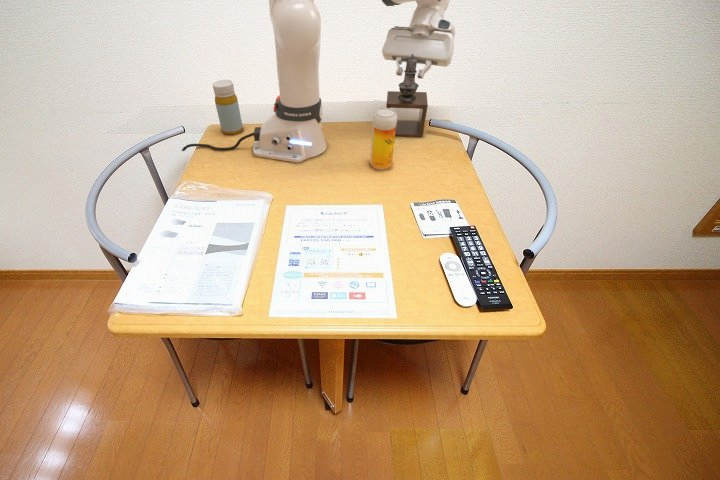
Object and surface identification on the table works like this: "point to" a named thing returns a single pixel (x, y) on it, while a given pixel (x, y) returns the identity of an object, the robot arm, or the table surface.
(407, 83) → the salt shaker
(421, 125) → the shelf
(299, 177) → the table surface
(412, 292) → the table surface
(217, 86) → the bottle
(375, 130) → the beer can
